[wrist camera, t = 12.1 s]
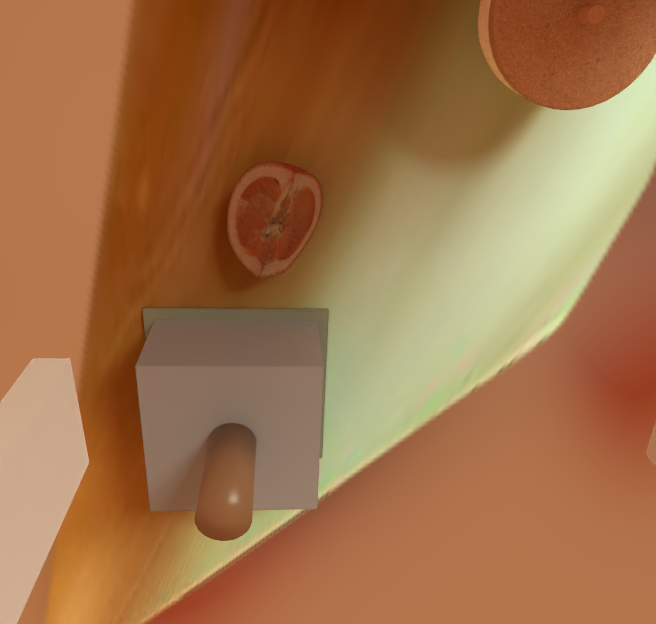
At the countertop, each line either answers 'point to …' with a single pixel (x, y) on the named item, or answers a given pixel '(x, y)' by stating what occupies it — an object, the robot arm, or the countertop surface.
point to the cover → (231, 418)
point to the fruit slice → (272, 216)
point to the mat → (248, 314)
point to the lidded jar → (567, 47)
